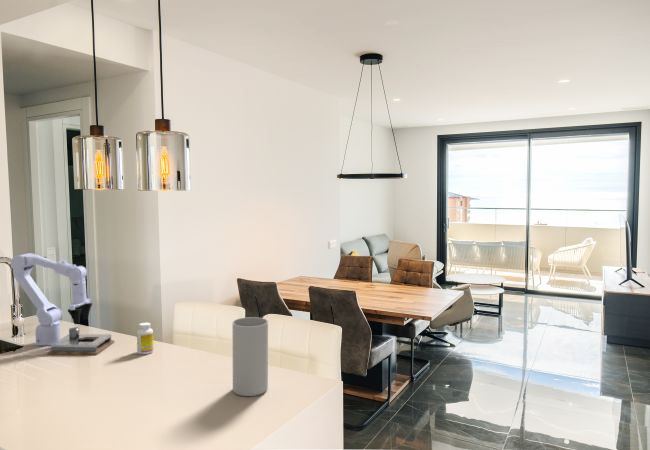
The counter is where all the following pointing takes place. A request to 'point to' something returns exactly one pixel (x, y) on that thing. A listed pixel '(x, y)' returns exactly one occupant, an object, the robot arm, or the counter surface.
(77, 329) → the dark grey knob
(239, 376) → the cylinder vase
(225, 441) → the counter surface
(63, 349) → the keyhole plate
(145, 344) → the supplement bottle
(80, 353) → the keyhole board
